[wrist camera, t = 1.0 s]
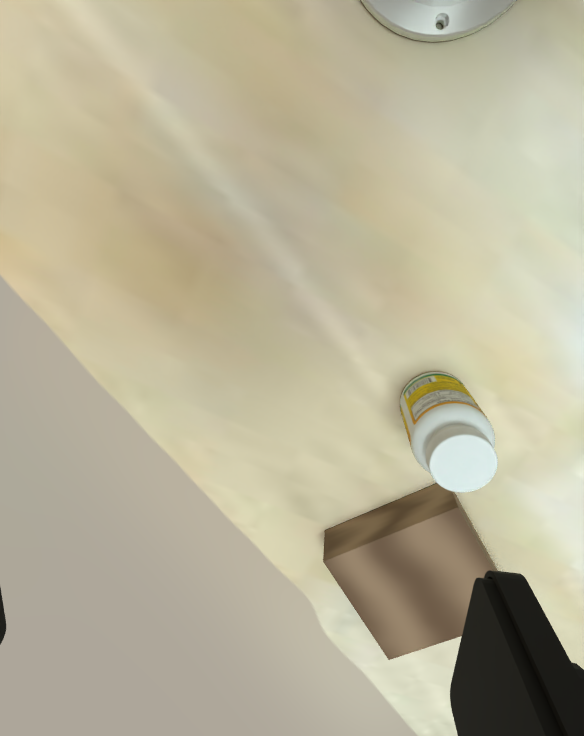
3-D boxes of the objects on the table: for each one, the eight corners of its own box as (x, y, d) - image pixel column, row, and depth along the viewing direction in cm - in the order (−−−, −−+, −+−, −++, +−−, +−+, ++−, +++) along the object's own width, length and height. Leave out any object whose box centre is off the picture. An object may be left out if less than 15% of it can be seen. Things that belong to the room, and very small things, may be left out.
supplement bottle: (409, 363, 36) (433, 413, 27) (477, 378, 36) (524, 434, 27) (390, 424, 38) (407, 491, 29) (455, 439, 38) (492, 510, 29)
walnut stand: (446, 478, 39) (458, 507, 35) (503, 580, 42) (519, 616, 38) (324, 530, 42) (323, 561, 38) (384, 622, 45) (388, 660, 41)
